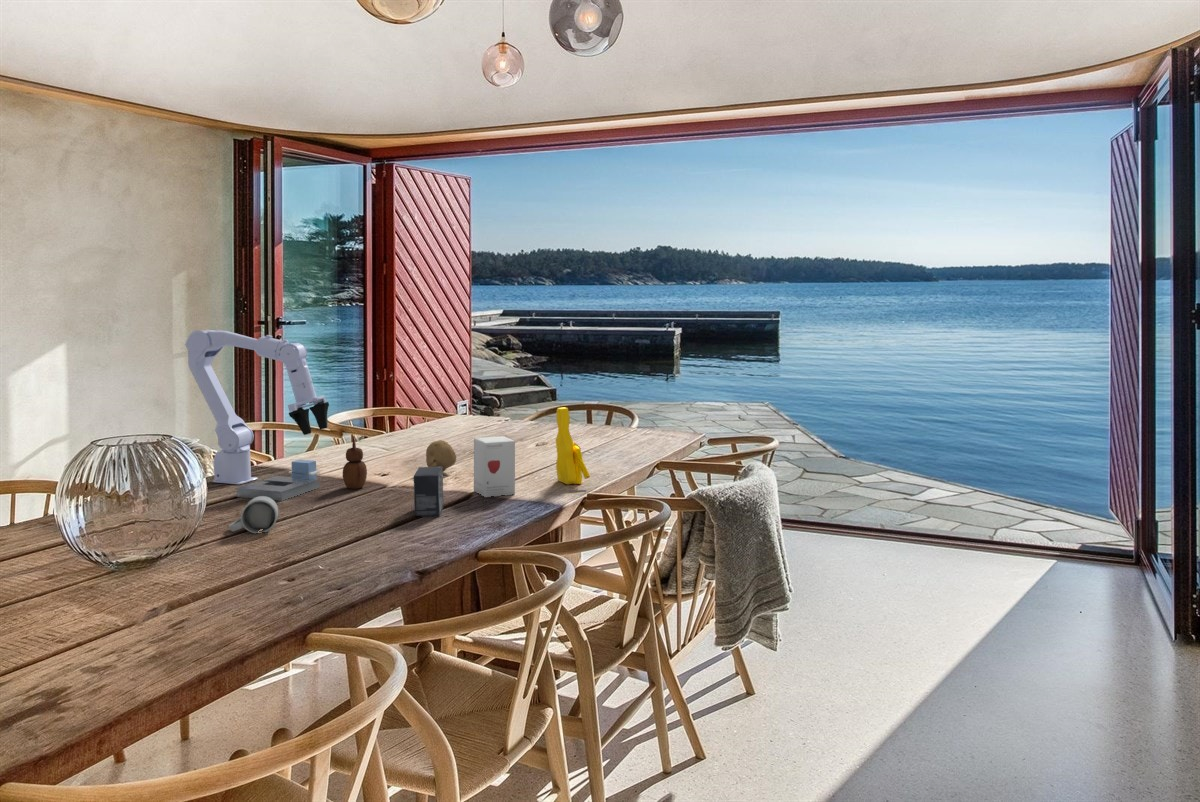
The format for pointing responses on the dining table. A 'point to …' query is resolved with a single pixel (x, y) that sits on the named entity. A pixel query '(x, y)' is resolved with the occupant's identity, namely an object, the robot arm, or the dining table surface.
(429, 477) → the small box
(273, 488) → the plate
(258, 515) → the ceramic mug
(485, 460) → the supplement box
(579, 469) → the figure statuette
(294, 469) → the block
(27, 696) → the dining table surface
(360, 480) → the wooden figurine
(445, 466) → the natural sponge
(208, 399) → the robot arm
